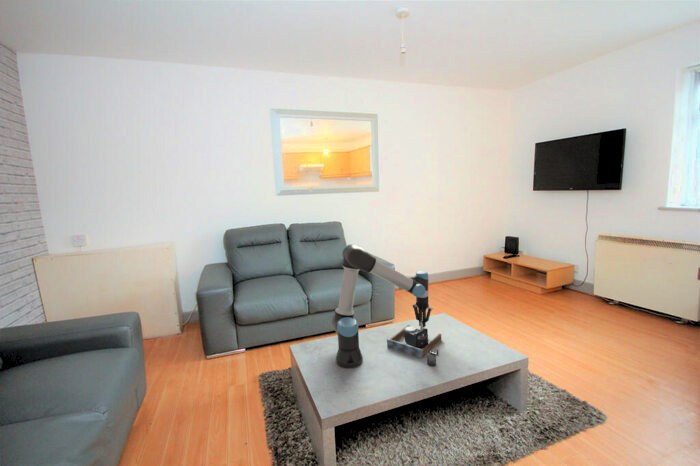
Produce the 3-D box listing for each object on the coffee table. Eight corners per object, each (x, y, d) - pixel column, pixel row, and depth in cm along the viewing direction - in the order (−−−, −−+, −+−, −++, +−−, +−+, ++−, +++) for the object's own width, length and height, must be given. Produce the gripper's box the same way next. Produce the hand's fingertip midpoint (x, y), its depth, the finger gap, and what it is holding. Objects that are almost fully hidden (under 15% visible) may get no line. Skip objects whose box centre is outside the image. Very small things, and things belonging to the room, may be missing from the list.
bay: (387, 347, 192) (386, 339, 191) (408, 330, 212) (408, 323, 211) (422, 358, 177) (422, 350, 176) (441, 340, 197) (441, 332, 196)
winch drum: (425, 364, 171) (424, 348, 170) (429, 360, 175) (429, 344, 174) (436, 368, 167) (436, 352, 166) (440, 364, 171) (440, 348, 170)
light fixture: (412, 339, 201) (411, 323, 200) (429, 345, 190) (428, 328, 189) (401, 345, 194) (399, 328, 193) (417, 352, 184) (416, 334, 183)
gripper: (410, 295, 200) (410, 330, 203) (429, 299, 192) (429, 336, 195) (415, 292, 206) (415, 326, 209) (434, 296, 198) (434, 331, 201)
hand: (422, 331), depth 202 cm, fingers closed
